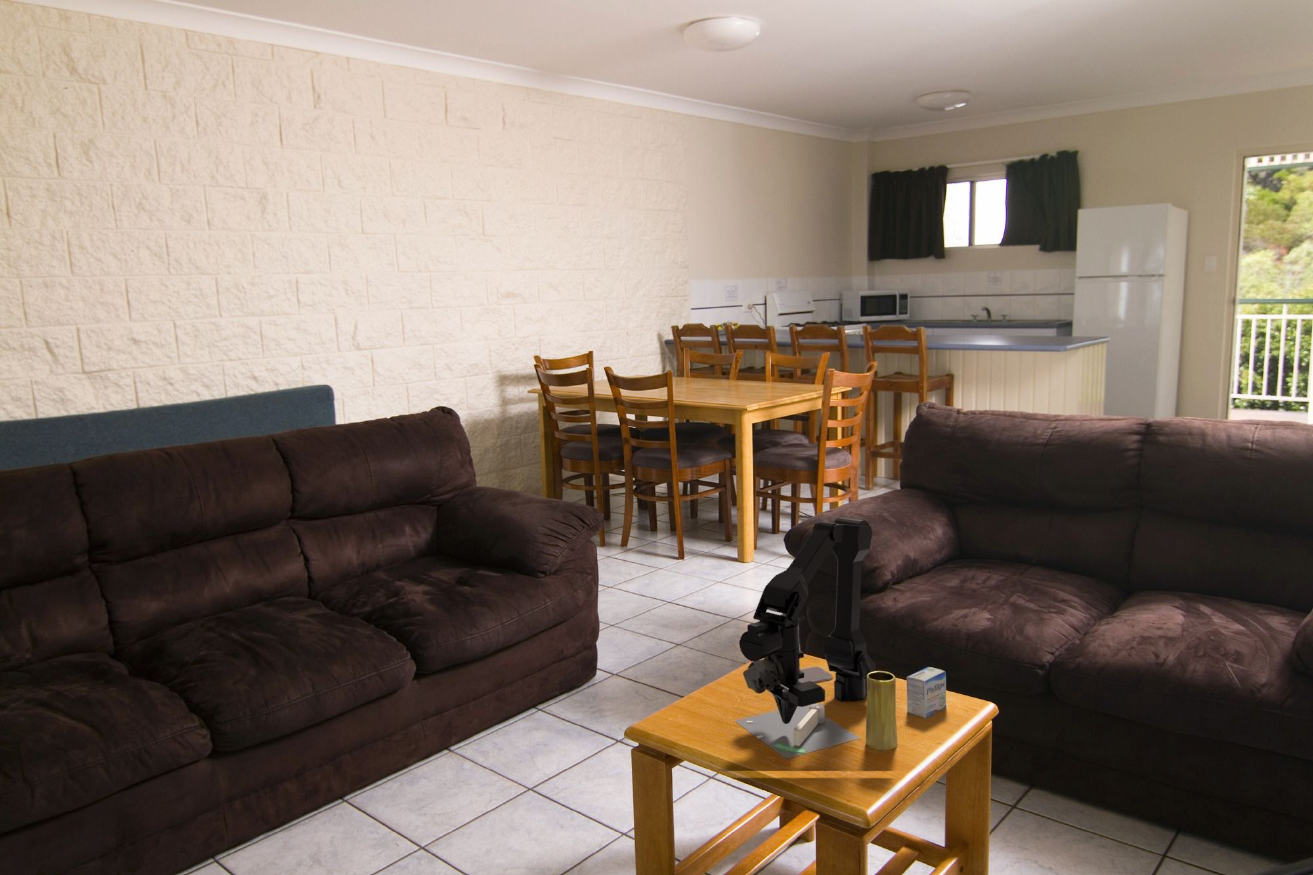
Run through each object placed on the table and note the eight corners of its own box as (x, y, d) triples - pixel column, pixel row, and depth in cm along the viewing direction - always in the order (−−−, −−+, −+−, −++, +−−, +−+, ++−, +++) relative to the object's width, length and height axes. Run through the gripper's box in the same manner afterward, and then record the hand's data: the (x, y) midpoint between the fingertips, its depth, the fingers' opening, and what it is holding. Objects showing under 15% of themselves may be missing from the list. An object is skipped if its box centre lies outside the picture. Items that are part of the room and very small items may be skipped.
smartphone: (761, 677, 210) (817, 665, 215) (761, 681, 210) (817, 669, 215) (776, 688, 203) (834, 676, 208) (776, 692, 203) (834, 680, 208)
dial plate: (803, 707, 193) (803, 702, 193) (860, 742, 176) (860, 737, 176) (734, 725, 186) (733, 720, 186) (786, 763, 169) (785, 757, 169)
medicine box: (925, 722, 184) (925, 681, 183) (906, 716, 187) (906, 675, 186) (946, 711, 189) (946, 670, 188) (927, 705, 193) (927, 665, 191)
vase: (892, 758, 170) (891, 684, 168) (860, 751, 173) (859, 678, 171) (902, 744, 175) (901, 673, 173) (871, 738, 178) (870, 667, 176)
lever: (812, 716, 186) (812, 702, 185) (826, 719, 184) (826, 704, 184) (788, 743, 174) (788, 728, 174) (803, 746, 173) (803, 731, 172)
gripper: (724, 640, 182) (726, 714, 184) (776, 669, 166) (778, 751, 168) (771, 630, 187) (773, 703, 189) (826, 658, 171) (827, 737, 172)
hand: (786, 723), depth 179 cm, fingers closed
